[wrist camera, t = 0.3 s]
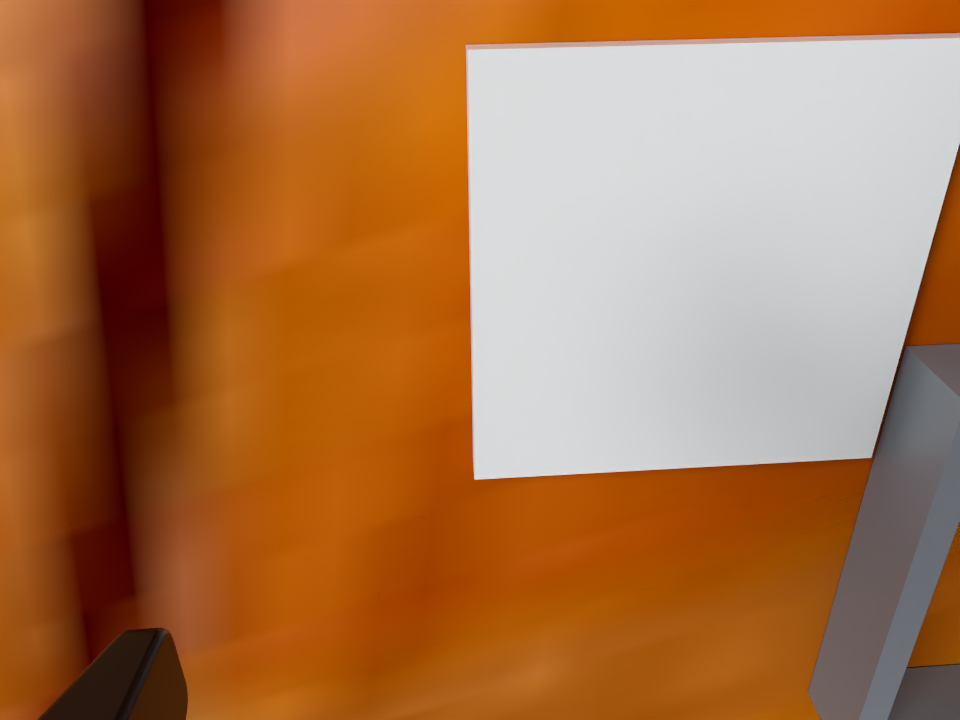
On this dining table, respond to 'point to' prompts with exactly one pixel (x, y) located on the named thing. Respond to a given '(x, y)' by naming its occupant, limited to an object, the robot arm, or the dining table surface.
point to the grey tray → (898, 556)
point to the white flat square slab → (698, 245)
